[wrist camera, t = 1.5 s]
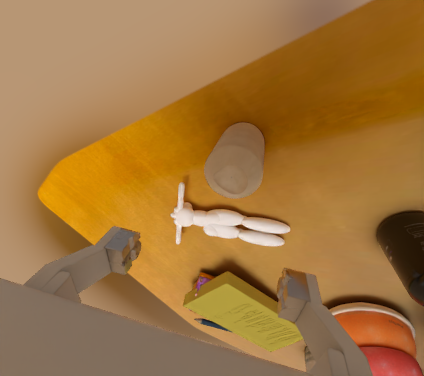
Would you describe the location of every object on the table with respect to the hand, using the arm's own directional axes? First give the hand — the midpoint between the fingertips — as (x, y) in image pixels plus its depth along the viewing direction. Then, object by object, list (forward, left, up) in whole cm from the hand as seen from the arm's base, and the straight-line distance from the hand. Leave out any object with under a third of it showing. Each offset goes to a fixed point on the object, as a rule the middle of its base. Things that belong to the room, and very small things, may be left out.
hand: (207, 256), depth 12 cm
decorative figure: (+12, 0, -19) cm, 22 cm away
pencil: (+44, +9, -18) cm, 48 cm away
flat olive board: (+25, -2, -14) cm, 29 cm away
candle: (0, 0, -19) cm, 19 cm away
